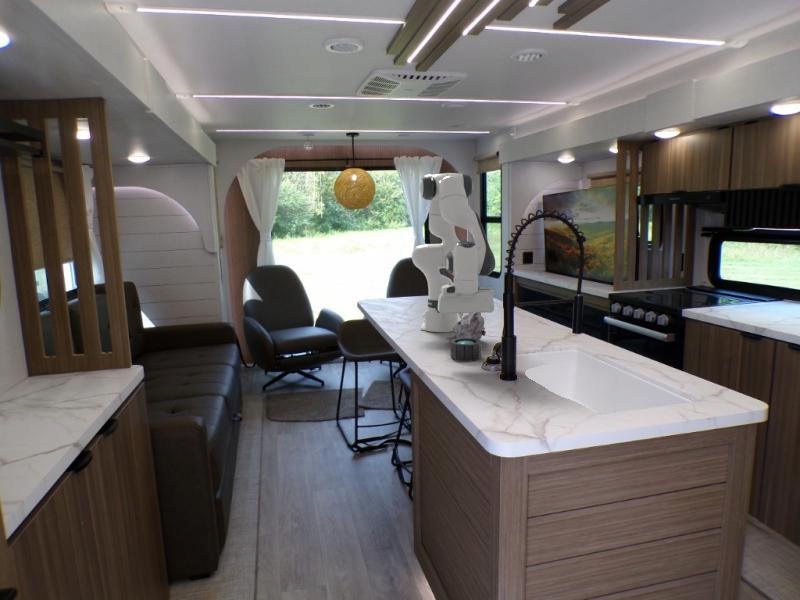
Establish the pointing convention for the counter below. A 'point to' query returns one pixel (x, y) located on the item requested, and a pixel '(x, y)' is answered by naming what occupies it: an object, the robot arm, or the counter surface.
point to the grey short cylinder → (465, 349)
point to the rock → (470, 328)
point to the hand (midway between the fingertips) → (465, 324)
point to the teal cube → (465, 342)
